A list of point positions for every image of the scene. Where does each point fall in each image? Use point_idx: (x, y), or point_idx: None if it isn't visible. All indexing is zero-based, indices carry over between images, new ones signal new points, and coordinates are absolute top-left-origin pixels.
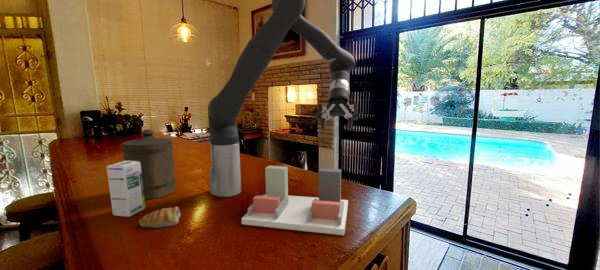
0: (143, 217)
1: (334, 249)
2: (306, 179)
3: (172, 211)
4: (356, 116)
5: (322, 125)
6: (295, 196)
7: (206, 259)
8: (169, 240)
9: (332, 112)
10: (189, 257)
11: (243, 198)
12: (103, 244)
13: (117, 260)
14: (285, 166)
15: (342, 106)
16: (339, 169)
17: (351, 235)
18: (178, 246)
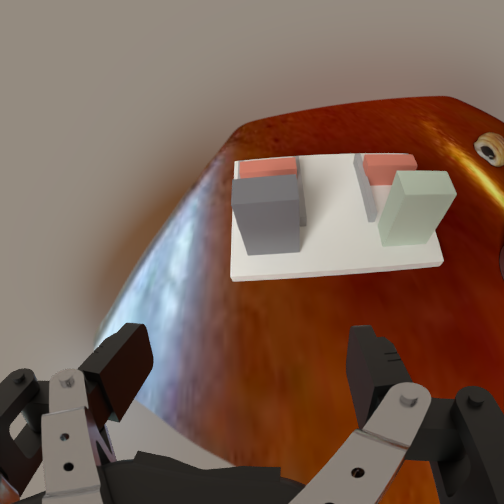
0: (500, 135)
1: (247, 140)
2: None
3: (487, 140)
4: (29, 375)
5: (369, 329)
6: (370, 263)
7: (379, 104)
8: (444, 122)
9: (282, 477)
10: (397, 104)
11: (477, 250)
12: (483, 114)
13: (446, 99)
14: (411, 194)
15: (69, 494)
16: (236, 202)
17: (225, 171)
18: (425, 115)
